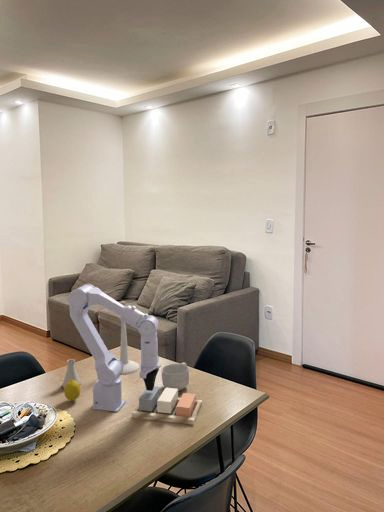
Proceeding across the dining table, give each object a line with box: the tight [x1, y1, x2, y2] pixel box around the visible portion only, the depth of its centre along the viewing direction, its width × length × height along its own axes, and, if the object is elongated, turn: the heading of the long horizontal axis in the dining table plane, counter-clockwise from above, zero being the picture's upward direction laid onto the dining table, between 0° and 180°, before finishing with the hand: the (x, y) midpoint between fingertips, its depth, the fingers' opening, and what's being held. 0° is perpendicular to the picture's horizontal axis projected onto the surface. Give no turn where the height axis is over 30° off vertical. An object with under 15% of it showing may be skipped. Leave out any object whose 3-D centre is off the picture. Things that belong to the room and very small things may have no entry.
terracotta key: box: [175, 392, 197, 417], centre depth 139 cm, size 4×10×4 cm, turn 167°
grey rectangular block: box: [138, 385, 161, 412], centre depth 142 cm, size 4×10×4 cm, turn 167°
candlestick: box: [118, 300, 140, 375], centre depth 175 cm, size 13×13×30 cm
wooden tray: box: [131, 397, 203, 426], centre depth 141 cm, size 21×14×2 cm, turn 77°
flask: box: [62, 358, 82, 389], centre depth 160 cm, size 7×7×10 cm
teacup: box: [160, 362, 190, 392], centre depth 159 cm, size 14×11×8 cm
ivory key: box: [156, 387, 179, 414], centre depth 140 cm, size 4×10×4 cm, turn 167°
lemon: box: [64, 380, 81, 402], centre depth 147 cm, size 6×6×8 cm
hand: (149, 389), depth 141 cm, fingers closed
